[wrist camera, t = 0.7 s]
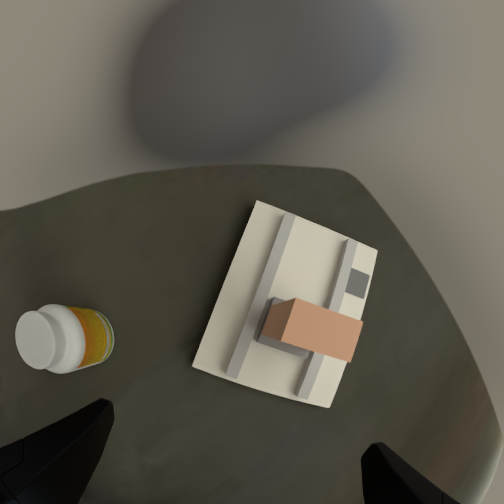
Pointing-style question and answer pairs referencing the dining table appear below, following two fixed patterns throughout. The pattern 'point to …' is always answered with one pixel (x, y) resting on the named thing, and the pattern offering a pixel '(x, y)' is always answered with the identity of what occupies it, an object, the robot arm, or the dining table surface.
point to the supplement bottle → (63, 338)
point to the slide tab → (309, 329)
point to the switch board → (285, 287)
